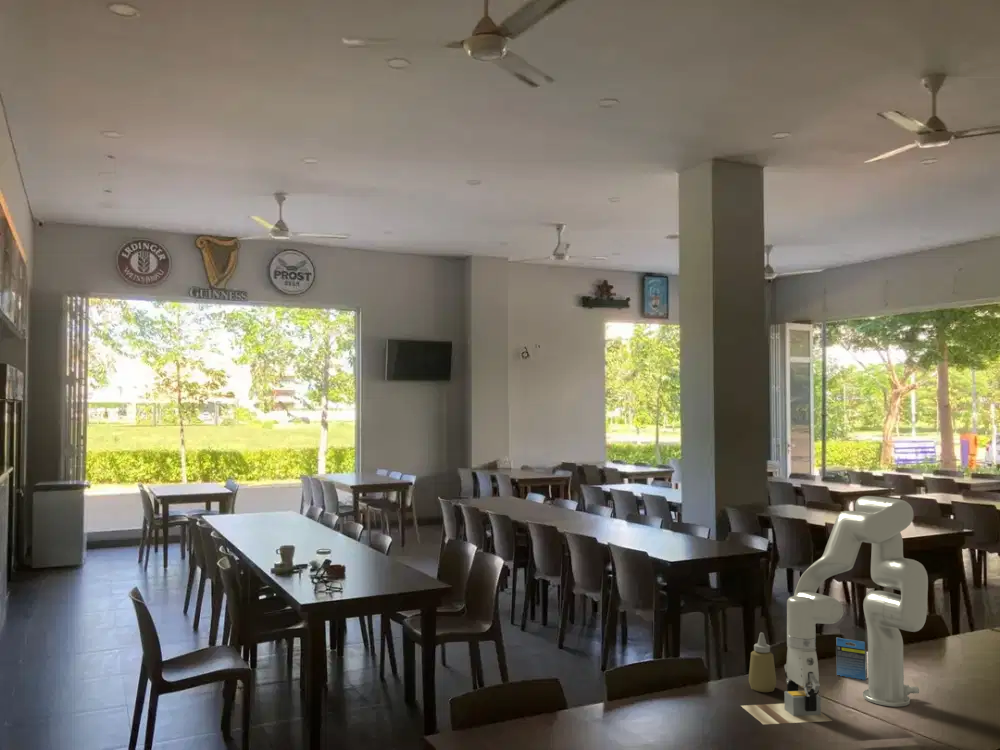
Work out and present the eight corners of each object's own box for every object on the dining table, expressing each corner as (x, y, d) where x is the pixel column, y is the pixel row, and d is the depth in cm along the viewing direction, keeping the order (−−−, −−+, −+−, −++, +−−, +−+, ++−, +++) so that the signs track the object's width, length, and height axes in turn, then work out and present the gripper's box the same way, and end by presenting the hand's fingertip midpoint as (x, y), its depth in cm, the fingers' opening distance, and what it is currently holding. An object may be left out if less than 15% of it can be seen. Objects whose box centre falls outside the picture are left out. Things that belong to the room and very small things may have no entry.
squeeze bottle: (778, 698, 239) (777, 637, 240) (750, 696, 241) (749, 635, 242) (774, 689, 247) (773, 630, 248) (747, 688, 249) (746, 628, 250)
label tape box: (867, 677, 259) (867, 638, 260) (865, 681, 256) (865, 641, 256) (838, 672, 264) (837, 634, 264) (836, 676, 260) (835, 637, 261)
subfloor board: (806, 707, 232) (806, 702, 232) (833, 726, 218) (833, 720, 218) (740, 711, 229) (740, 705, 229) (763, 730, 215) (763, 724, 215)
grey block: (811, 708, 227) (810, 689, 228) (820, 714, 223) (820, 695, 223) (784, 709, 226) (784, 690, 227) (793, 716, 221) (793, 696, 222)
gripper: (830, 650, 217) (830, 715, 216) (798, 633, 234) (798, 693, 233) (804, 651, 216) (804, 716, 215) (773, 634, 233) (773, 694, 232)
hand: (801, 704), depth 224 cm, fingers open, 9 cm apart
